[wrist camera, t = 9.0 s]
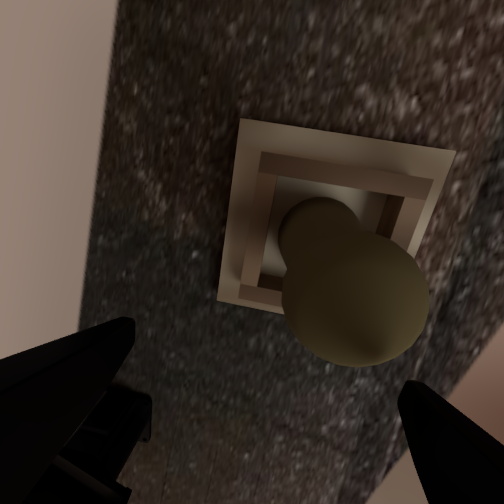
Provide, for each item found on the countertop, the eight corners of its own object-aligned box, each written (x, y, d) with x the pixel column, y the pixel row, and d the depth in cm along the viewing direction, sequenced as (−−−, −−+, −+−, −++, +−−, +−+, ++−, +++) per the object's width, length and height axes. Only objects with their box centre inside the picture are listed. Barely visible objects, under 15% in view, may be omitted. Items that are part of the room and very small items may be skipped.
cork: (273, 201, 18) (257, 239, 8) (361, 191, 17) (481, 220, 7) (281, 278, 20) (276, 395, 9) (361, 272, 19) (455, 397, 8)
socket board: (379, 327, 21) (397, 356, 18) (219, 294, 22) (208, 316, 19) (446, 152, 17) (486, 147, 13) (242, 120, 18) (233, 108, 14)
